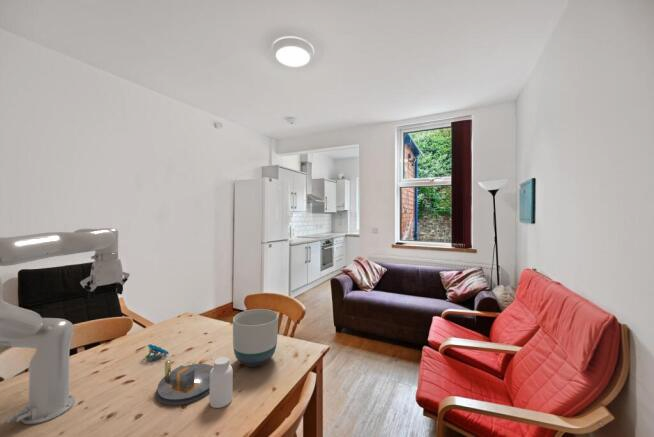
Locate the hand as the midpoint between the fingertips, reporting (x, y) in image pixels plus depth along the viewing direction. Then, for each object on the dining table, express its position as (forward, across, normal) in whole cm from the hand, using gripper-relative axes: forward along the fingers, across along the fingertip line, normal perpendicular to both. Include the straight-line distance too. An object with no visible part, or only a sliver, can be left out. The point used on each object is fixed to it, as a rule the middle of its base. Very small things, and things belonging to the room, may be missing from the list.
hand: (106, 296), depth 111 cm
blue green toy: (+33, +18, -7) cm, 38 cm away
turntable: (+31, +10, -39) cm, 51 cm away
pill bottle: (+33, +10, -57) cm, 67 cm away
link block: (+30, +6, -42) cm, 51 cm away
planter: (+33, +36, -51) cm, 71 cm away
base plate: (+33, +10, -39) cm, 52 cm away
